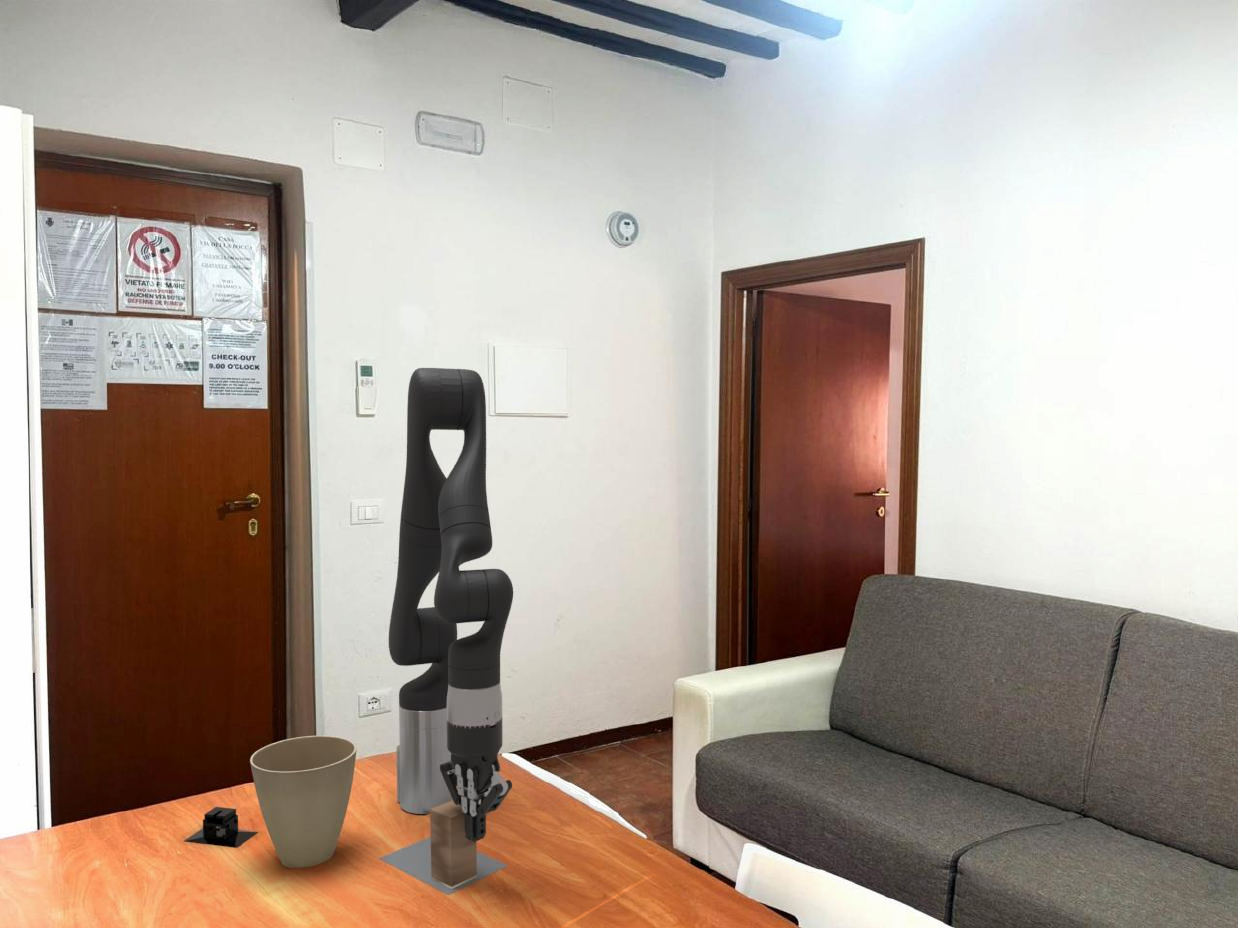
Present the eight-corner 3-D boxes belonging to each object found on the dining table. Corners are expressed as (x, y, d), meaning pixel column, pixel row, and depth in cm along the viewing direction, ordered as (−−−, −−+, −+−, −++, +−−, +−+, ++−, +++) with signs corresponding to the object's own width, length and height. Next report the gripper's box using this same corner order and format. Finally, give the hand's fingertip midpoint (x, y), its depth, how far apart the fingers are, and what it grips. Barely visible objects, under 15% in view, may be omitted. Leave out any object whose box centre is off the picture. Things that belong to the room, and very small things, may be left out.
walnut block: (431, 878, 134) (430, 809, 133) (456, 867, 137) (455, 799, 137) (451, 888, 131) (450, 817, 130) (476, 876, 134) (475, 807, 134)
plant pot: (328, 826, 152) (326, 728, 151) (376, 857, 141) (375, 752, 140) (235, 857, 141) (232, 751, 140) (279, 893, 131) (277, 779, 130)
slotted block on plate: (170, 846, 146) (170, 816, 146) (201, 825, 153) (200, 797, 153) (242, 854, 143) (241, 824, 143) (270, 833, 150) (270, 805, 150)
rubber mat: (378, 860, 140) (378, 858, 140) (438, 835, 148) (438, 833, 148) (448, 897, 130) (448, 894, 130) (508, 868, 138) (508, 865, 138)
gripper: (422, 711, 131) (423, 833, 132) (486, 732, 123) (486, 863, 124) (464, 698, 137) (465, 816, 138) (528, 718, 128) (528, 843, 129)
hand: (475, 838), depth 131 cm, fingers closed
